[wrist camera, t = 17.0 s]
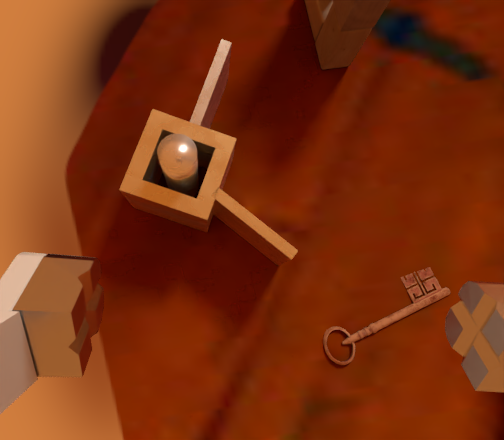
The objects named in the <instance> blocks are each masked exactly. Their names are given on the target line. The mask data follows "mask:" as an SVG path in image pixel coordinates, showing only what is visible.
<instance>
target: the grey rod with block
mask: <svg viewBox="0 0 504 440" xmlns="http://www.w3.org/2000/svg"><path fill="white" fill-rule="evenodd" d="M389 1H390V0H305V4H306V8H307V13H308V17H309V21H310V25H311V29H312V33H313V37H314V40H315V41H316V43H315V45H316V49H317V54H318V58H319V62H320V66H321V69H323V70H325V69H332V68H340V67H347V66H349V65H350V64H351V62H352V61H353V59H354V58H355V56H356V54H357V53H358V51H359V49H360V48H361V46H362V45H363V43H364V41H365V40H366V38H367V36H368V35H369V33H370V32H371V30H372V27H374V26H375V24H376V22H377V21H378V19H379V18H380V16H381V14H382V13H383V11H384V9H385V8H386V6H387V5H388V3H389Z"/></svg>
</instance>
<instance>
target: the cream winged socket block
mask: <svg viewBox="0 0 504 440" xmlns="http://www.w3.org/2000/svg"><path fill="white" fill-rule="evenodd" d="M231 45H232V43H231V42H228V41H226V40H223V39H222V40H221V42H220V45H219V47H218V50H217V53H216V55H215V58H214V60H213V63H212V65H211V68H210V71H209V73H208V76H207V78H206V81H205V84H204V86H203V89H202V91H201V94H200V96H199V99H198V102H197V104H196V107H195V109H194V112H193V114H192V117H191V120H190V122H188V121H185V120H182V119H180V118H177V117H174V116H171V115H168V114H165V113H163V112H160V111H157V110H154V109H152V112H151V114H150V117H149V119H148V121H147V124H146V126H145V129H144V131H143V134H142V136H141V138H140V141H139V143H138V146H137V148H136V151H135V153H134V155H133V158H132V160H131V163H130V165H129V167H128V170H127V172H126V175H125V177H124V180H123V182H122V184H121V187H120V189H119V190H120V191H121V193H122V194H123V195H124V197H125V198H126V199H127V200H128V202H129V203H130V204H131V206H132V207H133V208H136V209H139V210H142V211H145V212H148V213H151V214H154V215H157V216H160V217H162V218H165V219H168V220H171V221H174V222H177V223H180V224H183V225H186V226H189V227H192V228H195V229H198V230H201V231H204V232H208V229H209V226H210V223H211V220H212V217H213V215H214V216H216V217H217V218H218V219H220V220H221V221H222V222H223V223H225V224H226V225H227V226H228V227H230V228H231V229H232V230H233V231H235V232H236V233H237V234H238V235H240V236H241V237H242V238H243V239H245V240H246V241H247V242H248V243H250V244H251V245H252V246H253V247H255V248H256V249H257V250H258V251H260V252H261V253H262V254H263V255H265V256H266V257H267V258H268V259H270V260H271V261H272V262H273V263H275V264H276V265H277V266H279V265H281V264H283V263H285V262H287V261H290V260H292V258H293V257H294V256H295V254H296V253H297V252H298V250H297V249H295V248H294V247H293V246H292V245H290V244H289V243H288V242H287V241H285V240H284V239H283V238H282V237H280V236H279V235H278V234H277V233H275V232H274V231H273V230H271V229H270V228H269V227H268V226H266V225H265V224H264V223H263V222H261V221H260V220H259V219H258V218H256V217H255V216H254V215H253V214H251V213H250V212H249V211H248V210H246V209H245V208H244V207H243V206H241V205H240V204H239V203H237V202H236V201H235V200H234V199H232V198H231V197H230V196H229V195H227V194H226V193H225V192H224V191H222V189H223V186H224V184H225V181H226V178H227V175H228V172H229V170H230V167H231V164H232V159H233V154H234V149H235V144H236V138H234V137H231V136H228V135H225V134H222V133H219V132H217V131H214V130H211V129H210V127H211V124H212V121H213V119H214V116H215V113H216V111H217V108H218V105H219V103H220V100H221V97H222V95H223V92H224V89H225V87H226V84H227V81H228V74H229V64H230V54H231ZM171 134H183V135H186V136H188V137H189V138H191V139H192V140H193V142H194V143H195V145H196V148H197V159H198V166H200V167H203V168H206V169H208V170H207V172H206V175H205V178H204V181H203V183H202V186H201V189H200V191H199V194H198V197H197V198H194V197H191V196H188V195H185V194H182V193H179V192H176V191H173V190H170V189H168V188H165V187H162V186H159V185H158V183H159V180H160V178H161V175H162V173H163V171H162V168H161V165H160V161H159V158H158V154H157V150H158V146H159V144H160V142H161V141H162V140H163V139H164V138H165V137H166V136H168V135H171Z"/></svg>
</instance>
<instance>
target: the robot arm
mask: <svg viewBox="0 0 504 440" xmlns="http://www.w3.org/2000/svg"><path fill="white" fill-rule="evenodd" d="M100 275H101V266H100V260H99V259H98V258H93V257H81V256H69V255H57V254H40V253H28V252H22V253H20V254H19V255H17V256H16V257H15V258H14V260H13V261H12V263H11V264H10V266H9V267H8V269H7V270H6V272H5V273H4V275H3V276H2V278H1V279H0V414H1V413H2V412H3V411H4V410H5V409H6V408H7V407H8V406H10V405H11V404H12V403H13V402H14V401H15V400H16V399H17V398H18V397H19V396H20V395H21V394H22V393H23V392H25V390H27V389H28V388H29V387H30V386H31V385H32V384H33V383H34V382H35V381H36V380H37V379H38V378H37V377H82V376H83V374H84V371H85V368H86V365H87V362H88V359H89V357H90V354H91V351H92V346H91V339H90V338H91V337H92V336H93V335H95V334H96V333H97V332H98V330H99V327H100V324H101V321H102V315H103V309H104V291H103V288H102V287H101V286H100V285H99V284H98V281H99V278H100ZM458 295H459V297H460V300H461V301H460V302H458V303H457V304H455V305H454V306H452V307H451V308H450V310H449V312H448V314H447V317H446V323H445V331H446V335H447V339H448V341H449V343H450V344H451V346H452V348H453V349H454V350H456V351H457V352H458V353H459V354H461V355H462V356H463V359H462V363H461V365H462V367H463V369H464V370H465V372H466V374H467V376H468V378H469V380H470V381H471V383H472V385H473V387H474V389H475V391H489V392H504V283H494V282H476V281H468V282H467V283H466V284H464V285H463V286H462V288H461V290H460V291H459V293H458Z"/></svg>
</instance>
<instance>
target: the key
mask: <svg viewBox="0 0 504 440" xmlns="http://www.w3.org/2000/svg"><path fill="white" fill-rule="evenodd" d="M425 269H426V271H424V269H422V270H420V271H417V273H418V275H419V277H420V279H421V281H422V280H424V279H426V278H428V277H430V276H432V275H434V274H433V272H432V270H431V269H430V267H428V268H425ZM414 275H415V277H416V279H417V281H418V283H419V285H420V287H421V289H422V291H423V293H424V296H422V297H420V298H418V299H416V300H415V298H414V296H413V293H414V295H415V297H418V296H420V295H422V292H421V290H420V288H419V286H418V285H417V286H415V287H413V288H411V289H409V290H407V292H408V294H409V296H410V298H411V300H412V302H413V304H411V305H409V306H407V307H405V308H403V309H401V310H399V311H397V312H395V313H393V314H391V315H389V316H387V317H385V318H383V319H381V320H379V321H377V322H375V323H371V324H370V325H369V327H365V328H363V330H361V331H360V330H359V331H357V333H355V334H353V335H351V336H350V334H349V333H348V332H347V331H346V330H345V329H343V328H341V327H337V326H335V327H331V328H329V329H328V330H327V331H326V332H325V334H324V338H323V345H324V349H325V352H326V354H327V355H328V357H329V358H330V359H331V360H332V361H333V362H335V363H336V364H339V365H347V364H349V363H350V362H351V361H352V360H353V358H354V355H355V344H354V342H355V341H357V340H359V339H363V338H364V337H365V336H369V335H370V334H371V333H372V334H373V333H377V331H378V330H380V329H382V328H384V327H386V326H388V325H390V324H392V323H394V322H396V321H398V320H400V319H402V318H404V317H406V316H408V315H410V314H412V313H414V312H416V311H418V310H420V309H422V308H424V307H426V306H428V305H430V304H432V303H434V302H436V301H438V300H440V299H442V298H444V297H445V296H447V295H449V294H450V290H449V289H448V288H447V287H445V288H443V289H441V287H440V285H439V283H438V281H437V279H436V278H435V277H433V278H431V279H429V280H427V281H425V282H423V285H424V287H425V289H426V291H427V292H428V291H430V290H432V289H434V288H433V286H432V284H433V285H434V287H435V289H436V290H435V291H433V292H431V293H429V294H427V293H426V292H425V290H424V288H423V286H422V284H421V282H420V281H419V279H418V277H417V275H416V273H415V272H414ZM405 277H406V279H407V280H406V281H405V279H404V277H401V280H402V282H403V284H404V286H405V288H408V287H410V286H412V285H414V284H416V283H417V282H416V281H415V279H414V277H413V275H412V273H411V274H409V275H406V276H405ZM333 330H342V331H343V332H345V333H346V334H347V336H348V337H347V338H346V339H345V340H344V341H343V342H342V344H343V345H344V344H352V353H351V356H350V357H349V359H348V360H346V361H343V362H340V361H337V360H336V359H335V358H333V357H332V355H331V354H330V352H329V350H328V347H327V337H328V335H329V333H330V332H331V331H333Z"/></svg>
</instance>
